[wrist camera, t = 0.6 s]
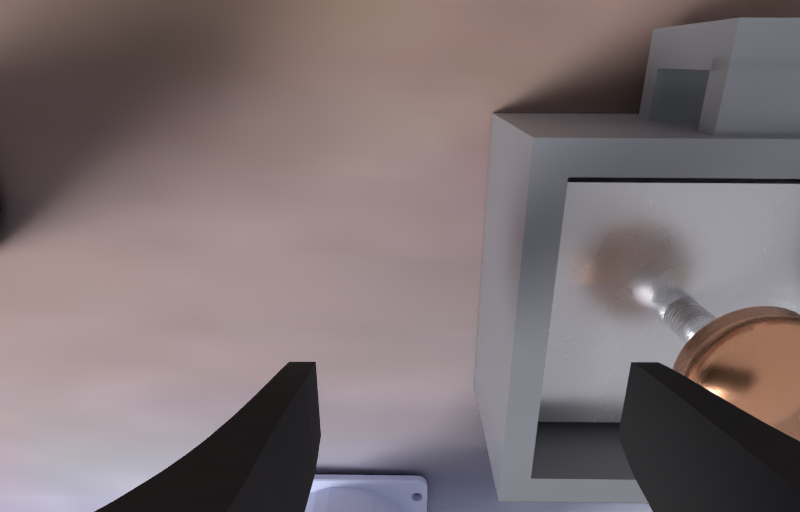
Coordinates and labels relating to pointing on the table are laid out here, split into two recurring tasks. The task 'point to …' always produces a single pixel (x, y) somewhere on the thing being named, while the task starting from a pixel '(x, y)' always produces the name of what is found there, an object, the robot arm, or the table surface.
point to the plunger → (677, 294)
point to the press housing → (612, 158)
